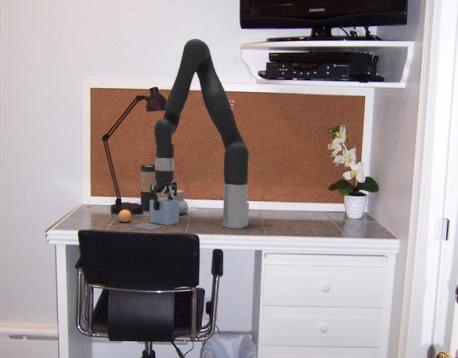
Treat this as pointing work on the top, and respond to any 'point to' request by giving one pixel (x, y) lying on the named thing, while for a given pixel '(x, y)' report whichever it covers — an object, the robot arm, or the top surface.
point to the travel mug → (147, 185)
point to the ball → (124, 215)
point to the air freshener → (181, 202)
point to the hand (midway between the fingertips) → (163, 208)
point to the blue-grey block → (165, 212)
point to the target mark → (147, 226)
